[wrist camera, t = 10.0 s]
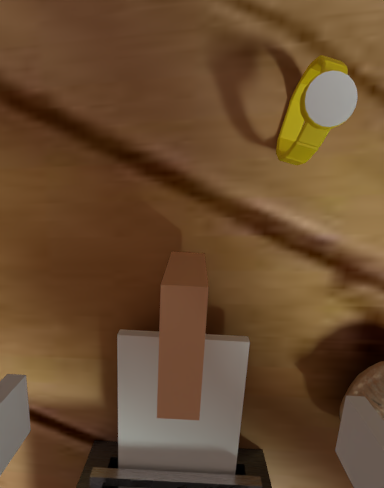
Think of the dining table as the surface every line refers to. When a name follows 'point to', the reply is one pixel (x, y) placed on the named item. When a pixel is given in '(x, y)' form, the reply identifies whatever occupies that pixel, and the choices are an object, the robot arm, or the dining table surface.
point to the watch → (315, 109)
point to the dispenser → (169, 472)
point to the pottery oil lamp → (368, 388)
